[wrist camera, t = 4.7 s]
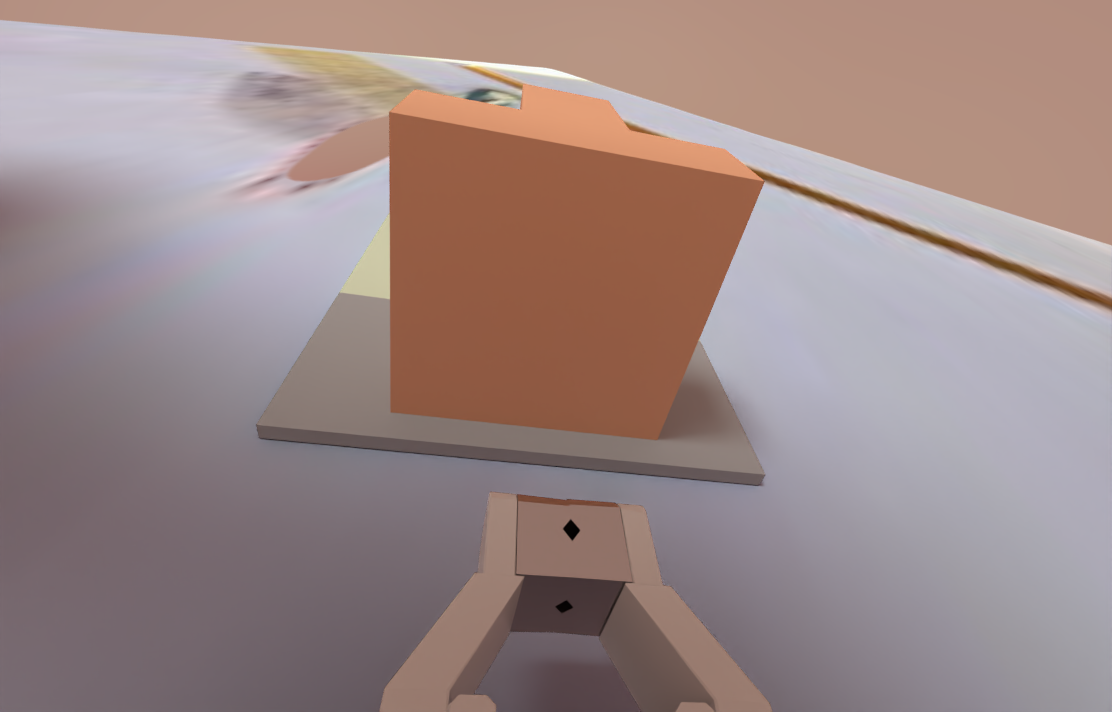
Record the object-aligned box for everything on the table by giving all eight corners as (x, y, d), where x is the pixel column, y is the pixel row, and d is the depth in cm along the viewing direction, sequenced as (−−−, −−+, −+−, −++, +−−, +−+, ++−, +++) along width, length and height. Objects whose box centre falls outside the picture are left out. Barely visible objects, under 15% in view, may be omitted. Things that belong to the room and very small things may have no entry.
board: (258, 437, 17) (256, 424, 17) (391, 219, 33) (391, 210, 33) (758, 485, 20) (765, 474, 19) (654, 260, 36) (657, 252, 35)
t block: (390, 412, 18) (389, 112, 13) (430, 291, 26) (440, 67, 20) (657, 440, 20) (764, 181, 14) (622, 318, 27) (683, 115, 21)
